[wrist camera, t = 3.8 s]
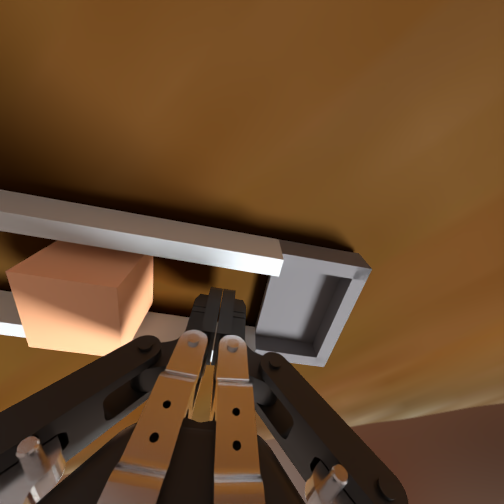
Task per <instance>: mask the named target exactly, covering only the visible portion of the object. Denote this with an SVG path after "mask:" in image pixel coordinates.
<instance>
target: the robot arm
mask: <svg viewBox="0 0 504 504" xmlns="http://www.w3.org/2000/svg"><path fill="white" fill-rule="evenodd" d="M222 290H223V289H221V288H214V287H211V289H210V293H209V295H204V294H200V295H199V296H198V297H197V298H196V299H195V302H194V305H193V308H192V312H191V314H190V317H189V321H188V324H187V327H186V330H185V332H184V333H183V334H182V335H181V336H180V337H179V338H178V339H176V340H173V341H168V342H161V341H160V340H159V339H158V338H157V337H155V336H152V335H144V336H140V337H138V338H136V339H134V340H132V341H130V342H128V343H127V344H125V345H123V346H121V347H119V348H117V349H116V350H114V351H112V352H110V353H108V354H106V355H105V356H103V357H101V358H99V359H97V360H95V361H94V362H92V363H90V364H88V365H86V366H84V367H83V368H81V369H79V370H77V371H75V372H73V373H72V374H70V375H68V376H66V377H64V378H62V379H61V380H59V381H57V382H55V383H53V384H51V385H50V386H48V387H46V388H44V389H42V390H40V391H39V392H37V393H35V394H33V395H31V396H29V397H28V398H26V399H24V400H22V401H20V402H18V403H17V404H15V405H13V406H11V407H9V408H7V409H6V410H4V411H2V412H0V504H305V502H304V501H303V499H302V497H301V496H300V494H299V493H298V491H297V490H296V488H295V486H294V485H293V483H292V482H291V480H290V478H289V477H288V475H287V474H286V472H285V470H284V469H283V467H282V466H281V464H280V462H279V461H278V459H277V458H276V456H275V454H274V453H273V451H272V450H271V448H270V447H269V446H268V444H267V443H266V442H265V441H264V440H263V439H262V438H261V437H260V436H259V435H257V430H256V419H255V411H256V412H257V413H258V415H259V416H260V418H261V419H262V420H263V422H264V423H265V425H266V426H267V428H268V429H269V430H270V432H271V433H272V435H273V436H274V438H275V439H276V440H277V442H278V443H279V445H280V446H281V448H282V449H283V450H284V452H285V453H286V455H287V456H288V457H289V459H290V460H291V462H292V463H293V465H294V466H295V467H296V469H297V470H298V472H299V473H300V474H301V476H302V477H303V479H304V480H305V482H306V485H305V497H306V501H307V504H408V499H407V495H406V492H405V490H404V488H403V486H402V484H401V483H400V481H399V480H398V478H397V477H396V476H395V475H394V474H393V473H392V472H391V471H390V470H389V469H388V467H387V466H386V465H385V464H384V463H383V462H382V461H381V460H380V459H379V458H378V457H377V456H376V455H375V454H374V452H373V451H372V450H371V449H370V448H369V447H368V446H367V445H366V444H365V443H364V442H363V441H362V440H361V439H360V437H359V436H358V435H357V434H356V433H355V432H354V431H353V430H352V429H351V428H350V427H349V426H348V425H347V424H346V423H345V422H344V420H343V419H342V418H341V417H340V416H339V415H338V414H337V413H336V412H335V411H334V410H333V409H332V408H331V407H330V406H329V404H328V403H327V402H326V401H325V400H324V399H323V398H322V397H321V396H320V395H319V394H318V393H317V392H316V391H315V390H314V388H313V387H312V386H311V385H310V384H309V383H308V382H307V381H306V380H305V379H304V378H303V377H302V376H301V375H300V374H299V372H298V371H297V370H296V369H295V368H294V367H293V366H292V365H291V364H290V363H289V362H288V361H287V360H286V359H285V358H284V357H283V356H282V355H281V354H279V353H276V352H267V353H265V354H264V355H260V354H258V353H256V352H254V351H252V350H251V349H250V348H249V347H248V346H247V344H246V341H245V322H246V306H245V304H244V302H243V300H238V299H235V291H234V290H228V289H224V291H223V297H222V302H221V296H222ZM220 302H221V308H220ZM219 308H220V314H219ZM218 314H219V320H218ZM217 320H218V326H217ZM216 326H217V332H216V338H215V344H214V350H213V356H212V362H211V365H215V368H214V374H213V380H212V393H211V407H210V420H209V421H208V422H202V423H199V422H196V421H194V420H191V418H192V414H193V410H194V406H195V403H196V399H197V396H198V392H199V388H200V385H201V381H202V376H203V375H204V372H205V367H206V365H210V360H211V355H212V349H213V343H214V337H215V331H216ZM147 399H148V400H147ZM146 400H147V403H146V405H145V407H144V409H143V411H142V413H141V416H140V418H139V420H138V422H137V423H135V424H132V425H131V426H129V427H127V428H125V429H124V430H122V431H121V432H119V433H118V434H117V435H116V436H114V437H113V438H112V439H111V440H110V441H109V442H107V443H106V444H105V445H104V446H103V447H102V448H100V449H99V450H98V451H97V452H96V453H95V454H93V455H92V456H91V457H90V458H89V459H87V460H86V461H85V462H84V463H83V464H82V465H80V466H79V467H78V468H77V469H76V470H75V471H73V472H72V473H71V474H70V475H69V476H68V477H66V478H65V479H64V480H63V481H62V482H61V483H59V484H58V485H57V486H56V487H55V488H53V487H54V486H55V485H56V484H57V482H58V481H59V479H60V478H61V476H62V474H63V472H64V469H65V463H66V462H67V461H68V460H69V459H71V458H72V457H73V456H75V455H76V454H77V453H78V452H80V451H81V450H82V449H84V448H85V447H86V446H88V445H89V444H90V443H91V442H93V441H94V440H95V439H97V438H98V437H99V436H101V435H102V434H103V433H104V432H106V431H107V430H108V429H110V428H111V427H112V426H113V425H115V424H116V423H117V422H119V421H120V420H121V419H123V418H124V417H125V416H126V415H128V414H129V413H130V412H132V411H133V410H134V409H136V408H137V407H138V406H139V405H141V404H142V403H143V402H145V401H146ZM52 488H53V489H52ZM51 489H52V490H51ZM50 490H51V491H50ZM49 491H50V492H49ZM48 492H49V493H48ZM47 493H48V494H47Z"/></svg>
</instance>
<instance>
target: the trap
mask: <svg viewBox="0 0 504 504" xmlns="http://www.w3.org/2000/svg"><path fill="white" fill-rule="evenodd" d="M279 243H280V247H281V251H282V255H283V259H284V261H283V264H282V268H281V271H280V275H279V277H278V276H272V275H269V277H268V281H267V285H266V288H265V292H264V296H263V300H262V303H261V307H260V311H259V314H258V318H257V322H256V326H255V346H256V353H258V354H260V355H264V354H265V353H267V352H276V353H279V354H281V355H282V356H283V357H284V358H285V359H286V360H287V361H288V362H289V363H297V364H304V365H312V366H320V367H324V366H325V364H326V362H327V360H328V358H329V356H330V354H331V352H332V350H333V348H334V346H335V343H336V341H337V339H338V337H339V335H340V333H341V331H342V329H343V327H344V325H345V323H346V321H347V319H348V317H349V315H350V313H351V311H352V309H353V307H354V305H355V303H356V301H357V298H358V296H359V294H360V292H361V290H362V288H363V286H364V284H365V282H366V280H367V278H368V276H369V274H370V272H371V270H372V269H371V267H370V266H369V265H368V264H367V263H366V262H365V260H364V259H363V258H362V257H361V256H360V254H358V253H352V252H347V251H341V250H336V249H330V248H324V247H319V246H313V245H308V244H302V243H297V242H291V241H285V240H280V239H279Z"/></svg>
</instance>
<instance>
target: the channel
mask: <svg viewBox="0 0 504 504" xmlns="http://www.w3.org/2000/svg"><path fill="white" fill-rule="evenodd" d="M0 231H5V232H11V233H17V234H23V235H29V236H35V237H41V238H47V239H53V240H59V241H65V242H71V243H77V244H84V245H90V246H96V247H102V248H108V249H114V250H120V251H126V252H132V253H138V254H144V255H150V256H156V257H162V258H169V259H175V260H181V261H187V262H193V263H199V264H205V265H211V266H217V267H223V268H229V269H235V270H241V271H247V272H254V273H260V274H266V275H272V276H278V277H279V275H280V271H281V268H282V264H283V261H284V259H283V255H282V251H281V247H280V243H279V239H274V238H269V237H263V236H257V235H252V234H246V233H241V232H235V231H229V230H224V229H218V228H213V227H207V226H202V225H196V224H190V223H185V222H179V221H174V220H168V219H162V218H157V217H151V216H146V215H140V214H134V213H129V212H123V211H118V210H112V209H106V208H101V207H95V206H90V205H84V204H79V203H73V202H67V201H62V200H56V199H51V198H45V197H39V196H34V195H28V194H23V193H17V192H11V191H6V190H0ZM188 321H189V317H182V316H176V315H169V314H162V313H155V312H147V314H146V315H145V317H144V319H143V321H142V323H141V325H140V326H139V328H138V330H137V332H136V334H135V335H134V337H133V339H132V340H134V339H136V338H138V337H140V336H144V335H152V336H155V337H157V338H158V339H159V340H160V341H161V342H168V341H173V340H176V339H178V338H179V337H180V336H181V335H182V334H183V333H184V332H185V330H186V327H187V324H188ZM217 326H218V322H217ZM217 326H216V331H215V337H214V343H213V349H212V355H211V360H210V361H212V356H213V350H214V344H215V338H216V332H217ZM0 334H2V335H10V336H18V337H25V338H26V335H25V332H24V329H23V326H22V323H21V319H20V316H19V313H18V310H17V307H16V303H15V300H14V297H13V294H12V292H9V291H2V290H0ZM245 341H246V344H247V346H248V347H249V348H250V349H251V350H252V351H254V352H256V346H255V327H252V326H245Z"/></svg>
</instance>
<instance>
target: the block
mask: <svg viewBox="0 0 504 504" xmlns="http://www.w3.org/2000/svg"><path fill="white" fill-rule="evenodd" d="M6 274H7V278H8V281H9V284H10V287H11V291H12V294H13V297H14V300H15V303H16V307H17V310H18V313H19V316H20V319H21V323H22V326H23V329H24V332H25V335H26V339H27V342H28V345H29V347H36V348H44V349H52V350H60V351H68V352H76V353H84V354H92V355H100V356H105V355H106V354H108V353H110V352H112V351H114V350H116V349H117V348H119V347H121V346H123V345H125V344H127V343H128V342H130V341H132V339H133V337H134V335H135V334H136V332H137V330H138V328H139V326H140V325H141V323H142V321H143V319H144V317H145V315H146V314H147V312H148V310H149V308H150V306H151V305H152V303H153V256H150V255H144V254H138V253H132V252H126V251H120V250H114V249H108V248H102V247H96V246H90V245H84V244H77V243H71V242H65V241H59V240H57V241H56V242H54V243H52V244H51V245H49V246H47V247H45V248H44V249H42V250H40V251H39V252H37V253H35V254H34V255H32V256H30V257H29V258H27V259H25V260H24V261H22V262H20V263H18V264H17V265H15V266H13V267H12V268H10V269H8V270H7V271H6Z"/></svg>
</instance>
